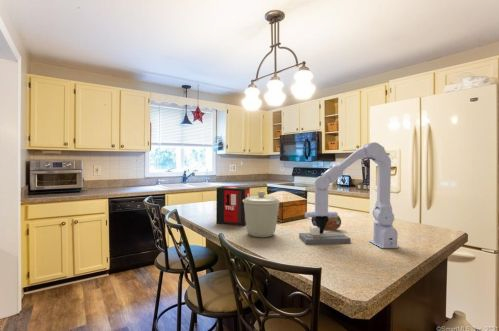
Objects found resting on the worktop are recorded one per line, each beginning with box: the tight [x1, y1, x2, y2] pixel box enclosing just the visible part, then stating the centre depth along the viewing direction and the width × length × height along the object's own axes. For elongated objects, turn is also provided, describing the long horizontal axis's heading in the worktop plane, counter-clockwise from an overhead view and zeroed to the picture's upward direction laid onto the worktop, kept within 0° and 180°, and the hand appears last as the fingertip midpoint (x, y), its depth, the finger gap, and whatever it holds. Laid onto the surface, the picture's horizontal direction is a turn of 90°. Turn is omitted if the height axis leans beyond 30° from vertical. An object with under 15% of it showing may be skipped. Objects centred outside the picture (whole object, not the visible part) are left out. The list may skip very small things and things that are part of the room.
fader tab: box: [309, 225, 320, 235], centre depth 120 cm, size 4×3×4 cm
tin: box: [310, 215, 342, 231], centre depth 140 cm, size 15×3×8 cm, turn 62°
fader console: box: [298, 231, 352, 245], centre depth 120 cm, size 10×20×3 cm, turn 97°
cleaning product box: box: [215, 185, 251, 227], centre depth 150 cm, size 16×9×20 cm, turn 73°
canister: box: [242, 190, 281, 238], centre depth 128 cm, size 18×18×21 cm
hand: (320, 233), depth 120 cm, fingers closed
